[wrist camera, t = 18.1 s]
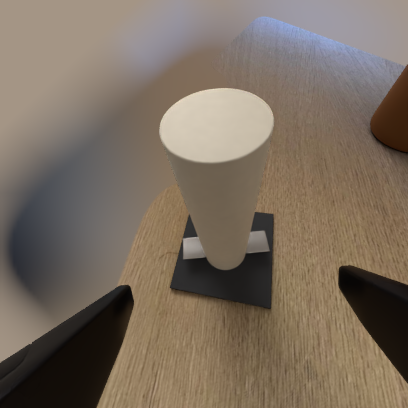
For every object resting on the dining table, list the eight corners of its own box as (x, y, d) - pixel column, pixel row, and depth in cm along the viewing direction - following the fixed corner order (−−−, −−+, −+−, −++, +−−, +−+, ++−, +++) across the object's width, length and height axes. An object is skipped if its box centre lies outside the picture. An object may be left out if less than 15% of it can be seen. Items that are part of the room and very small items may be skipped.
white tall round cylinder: (260, 226, 18) (309, 73, 7) (270, 266, 16) (357, 145, 5) (185, 234, 18) (117, 103, 7) (186, 273, 17) (95, 178, 5)
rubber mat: (270, 308, 15) (270, 308, 15) (170, 288, 16) (169, 287, 16) (272, 215, 19) (273, 214, 18) (192, 206, 20) (191, 204, 20)
